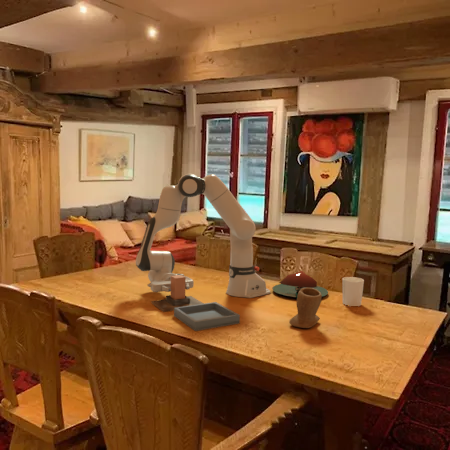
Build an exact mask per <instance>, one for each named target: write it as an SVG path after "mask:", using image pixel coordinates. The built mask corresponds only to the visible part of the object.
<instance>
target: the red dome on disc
mask: <svg viewBox="0 0 450 450" xmlns="http://www.w3.org/2000/svg"><path fill="white" fill-rule="evenodd" d="M278 283H279V284H276V285H273V287H272V291H273V292H274V293H276V294H279V295H283V296H287V297H293V298H297V296H298V292H299V291H300V290H301V289H302V288H313V289H316V290H318V291H319V292H320V293H321V295H322V297H325V296H327V295H328V294H329V291H328V289H326V288H325V287H322V286H318V282H317V281H316V280H315V279H314V278H313V277H312V276H310V275H308V274H307V273H305V271H303V270H300V271H297V272H294V273H290V274H287V275H286V276H285V277H284V279H282V280H281V281H279V282H278Z"/></svg>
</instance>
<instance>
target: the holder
mask: <svg viewBox="0 0 450 450" xmlns="http://www.w3.org/2000/svg"><path fill="white" fill-rule="evenodd" d="M150 302H151V304H152V305H153V306H154V307H156V308H157V309H158V310H160V311H162V313H164V312H172V311H174V308H176V307H183V306H190V305H198V304H205V303H204V302H203V301H200V300H199V299H197V298H195V297H193V295H188V296H187V295H185V298H183V299H176V300H174V299H173V298H171V294H169V295H166V296H165V299H156V300H151V301H150Z"/></svg>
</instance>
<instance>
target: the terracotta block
mask: <svg viewBox="0 0 450 450" xmlns="http://www.w3.org/2000/svg"><path fill="white" fill-rule="evenodd" d="M184 276H185V275H184ZM184 276H182V275H175V276H171V291H170V295H171V298H173V299H174V300H176V299H183V298H185V296H186V289H185V279H186V277H187V276H186V277H184Z"/></svg>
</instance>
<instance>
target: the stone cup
mask: <svg viewBox="0 0 450 450" xmlns="http://www.w3.org/2000/svg"><path fill="white" fill-rule="evenodd" d="M322 297H323V296H322V295H321V293H320V292H319V291H318V290H316V289H313V288H302V289H301V290H300V291H299V292H298V296H297V297H296V308H297V314H295V315H294V316H293V317H292V318H290V319H289V320H288V322H289V325H291V326H293V327H295V328H303V329H310V328H312V327H314V326H315V325H316V324H317V323H318V322H319V321H320V316H318V315H317V312H318V310H319V308H320V305H321V303H322Z"/></svg>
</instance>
